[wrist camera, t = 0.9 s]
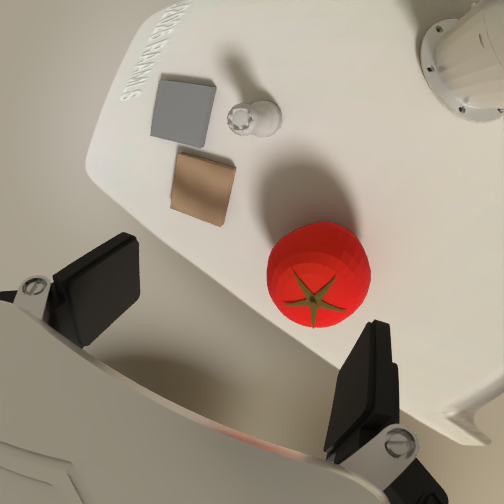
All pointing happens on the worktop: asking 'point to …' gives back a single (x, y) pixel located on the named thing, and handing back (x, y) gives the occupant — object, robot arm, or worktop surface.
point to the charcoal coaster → (182, 112)
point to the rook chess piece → (255, 119)
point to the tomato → (318, 274)
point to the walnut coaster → (202, 188)
